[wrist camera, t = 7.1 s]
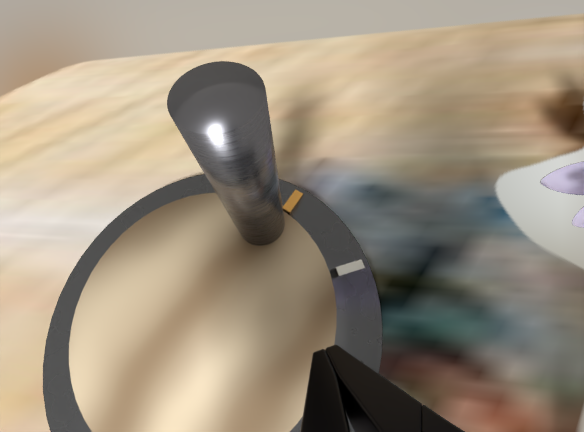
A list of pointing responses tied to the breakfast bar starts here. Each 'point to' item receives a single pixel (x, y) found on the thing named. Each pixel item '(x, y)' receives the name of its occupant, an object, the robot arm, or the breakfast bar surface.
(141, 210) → the base
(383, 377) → the robot arm
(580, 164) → the water lily
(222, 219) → the dial
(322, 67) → the breakfast bar surface
